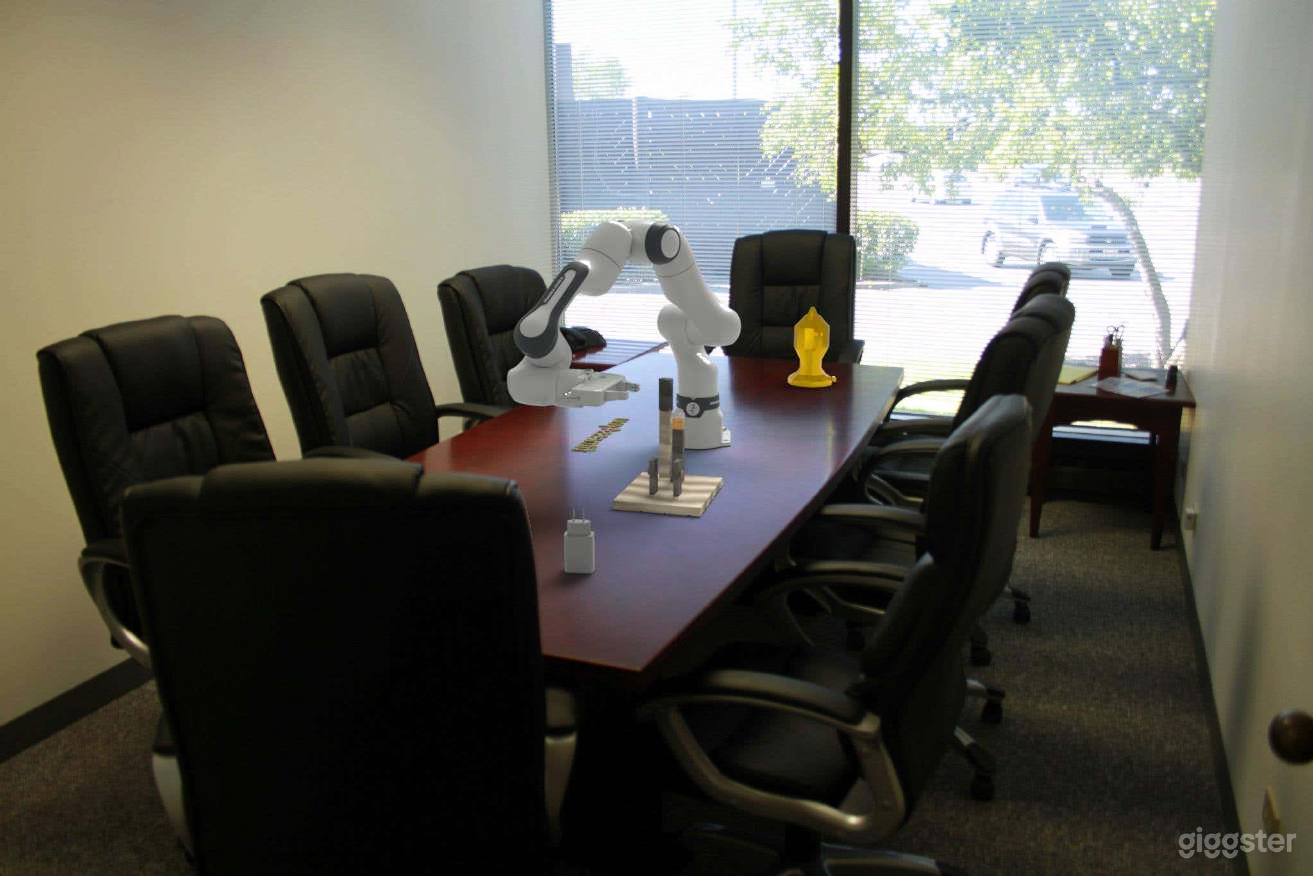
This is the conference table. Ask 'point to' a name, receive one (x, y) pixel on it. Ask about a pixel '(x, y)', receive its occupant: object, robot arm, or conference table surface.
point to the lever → (665, 427)
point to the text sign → (610, 429)
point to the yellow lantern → (811, 351)
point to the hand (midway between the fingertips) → (633, 391)
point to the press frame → (669, 487)
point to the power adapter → (579, 546)
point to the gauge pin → (678, 421)
